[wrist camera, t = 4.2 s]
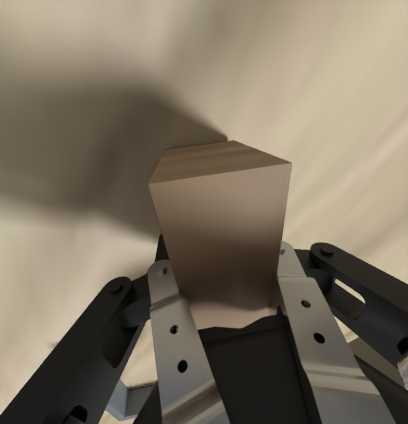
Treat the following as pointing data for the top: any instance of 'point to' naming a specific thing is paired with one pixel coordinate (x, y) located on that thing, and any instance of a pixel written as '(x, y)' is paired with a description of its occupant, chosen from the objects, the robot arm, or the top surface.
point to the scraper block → (222, 227)
